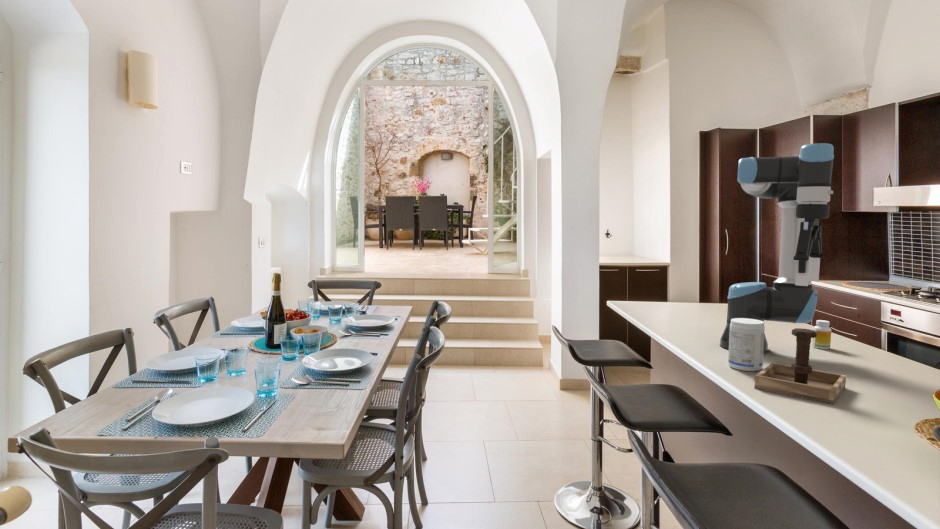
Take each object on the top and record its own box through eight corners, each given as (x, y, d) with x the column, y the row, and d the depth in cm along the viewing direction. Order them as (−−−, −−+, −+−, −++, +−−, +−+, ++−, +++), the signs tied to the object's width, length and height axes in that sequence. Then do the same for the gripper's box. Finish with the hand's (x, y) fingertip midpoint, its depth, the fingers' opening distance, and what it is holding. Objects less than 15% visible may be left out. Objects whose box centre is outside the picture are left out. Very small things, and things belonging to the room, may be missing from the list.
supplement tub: (744, 362, 173) (747, 317, 171) (769, 370, 164) (772, 322, 162) (720, 364, 169) (723, 318, 168) (745, 373, 160) (748, 324, 159)
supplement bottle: (833, 349, 191) (835, 322, 190) (818, 349, 191) (820, 322, 190) (823, 346, 197) (825, 319, 196) (808, 345, 197) (810, 319, 196)
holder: (771, 374, 160) (772, 362, 159) (845, 388, 148) (846, 375, 147) (754, 388, 147) (755, 375, 146) (833, 404, 134) (834, 390, 134)
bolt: (815, 388, 144) (819, 333, 142) (794, 387, 145) (797, 331, 143) (806, 382, 149) (810, 328, 148) (786, 380, 150) (790, 327, 149)
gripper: (820, 202, 131) (813, 289, 133) (838, 204, 149) (832, 280, 151) (785, 202, 136) (779, 286, 138) (806, 204, 154) (801, 278, 156)
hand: (807, 283), depth 145 cm, fingers open, 13 cm apart
